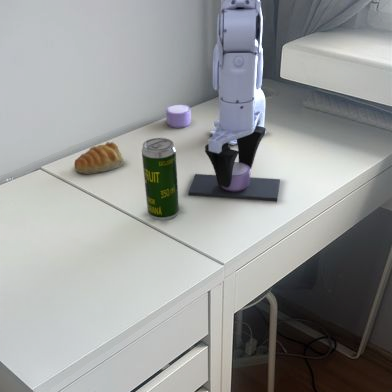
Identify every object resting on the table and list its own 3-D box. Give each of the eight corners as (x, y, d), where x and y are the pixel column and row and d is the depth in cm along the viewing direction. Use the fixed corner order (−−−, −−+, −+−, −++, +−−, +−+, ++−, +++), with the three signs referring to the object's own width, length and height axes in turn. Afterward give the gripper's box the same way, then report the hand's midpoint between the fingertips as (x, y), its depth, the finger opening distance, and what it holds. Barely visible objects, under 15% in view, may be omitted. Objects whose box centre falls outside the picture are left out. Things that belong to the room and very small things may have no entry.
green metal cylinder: (162, 202, 90) (157, 134, 81) (185, 211, 87) (182, 142, 79) (141, 214, 87) (133, 145, 78) (164, 225, 84) (158, 154, 76)
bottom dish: (182, 117, 117) (181, 102, 115) (196, 124, 114) (195, 109, 112) (161, 123, 115) (160, 108, 113) (175, 130, 112) (174, 115, 109)
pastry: (85, 180, 96) (82, 160, 94) (69, 168, 100) (64, 149, 97) (127, 165, 100) (124, 146, 98) (109, 154, 104) (106, 136, 101)
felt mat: (188, 195, 91) (187, 192, 91) (195, 176, 96) (195, 173, 96) (277, 201, 89) (277, 198, 88) (279, 182, 94) (280, 179, 93)
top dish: (229, 175, 95) (229, 159, 93) (255, 183, 93) (256, 166, 90) (213, 188, 92) (213, 171, 89) (239, 196, 89) (240, 178, 87)
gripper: (238, 79, 87) (236, 156, 97) (191, 107, 79) (194, 188, 88) (275, 86, 84) (268, 164, 94) (230, 115, 76) (228, 198, 85)
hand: (234, 176), depth 91 cm, fingers open, 7 cm apart
